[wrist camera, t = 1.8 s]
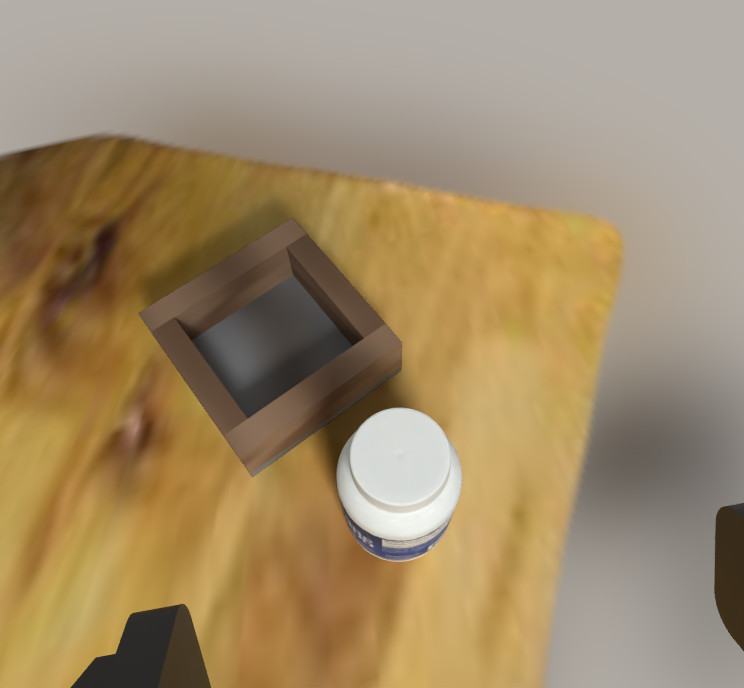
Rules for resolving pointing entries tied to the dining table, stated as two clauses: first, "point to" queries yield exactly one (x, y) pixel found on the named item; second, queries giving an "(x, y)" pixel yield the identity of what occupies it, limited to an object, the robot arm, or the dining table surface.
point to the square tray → (274, 343)
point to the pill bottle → (398, 484)
